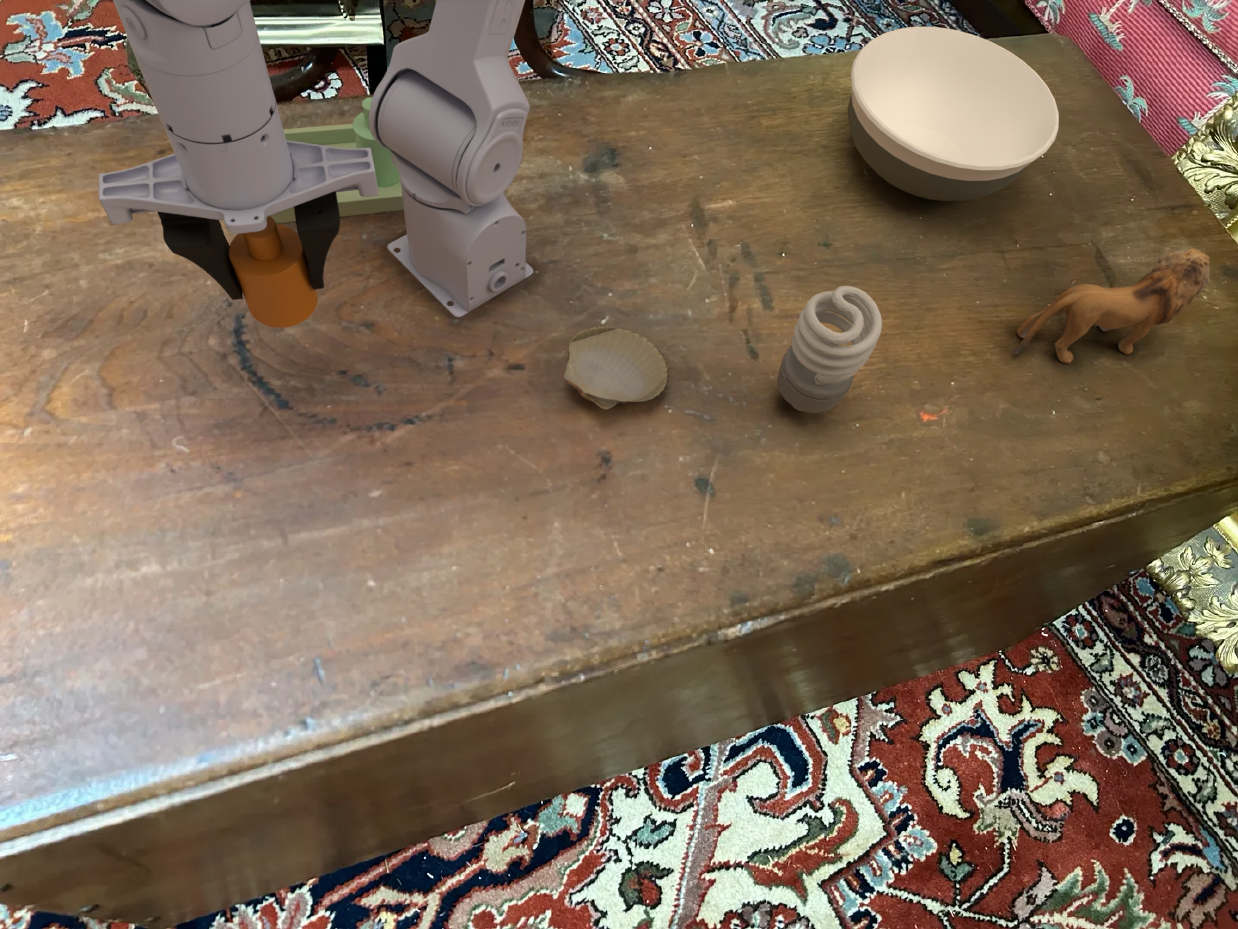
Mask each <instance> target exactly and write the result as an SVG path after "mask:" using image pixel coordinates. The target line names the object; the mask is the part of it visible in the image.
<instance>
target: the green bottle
mask: <svg viewBox="0 0 1238 929" xmlns="http://www.w3.org/2000/svg"><path fill="white" fill-rule="evenodd" d="M372 97H373V96H369V97H366V98H364V99H363V100H362V102H361V107H362V108H361V109H362V112H360V113H359V114H357V115H356V116H355V118H354V119H353V120H352V124H353V131H354V137H355V142H356V148H371V152H372V158H373V163H374V168H375V174H376V180H377V186H378V187H388V186H392V185H394V184H396V183H398V182H399V181H400V176H399V171H398V169H397V168H396V167H395V166H394V165H393V164H392V160H391V153H390V149H388V148H386V147H383V146H381V145H380V144H379V143H378V142H377V141H376V140H375V139H374V138H373V136H372V134H371V131H370V127H369V110H370V105H371V101H372Z"/></svg>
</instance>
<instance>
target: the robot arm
mask: <svg viewBox="0 0 1238 929" xmlns="http://www.w3.org/2000/svg"><path fill="white" fill-rule="evenodd" d="M112 1H113V4H114V7H115V9H116V11H117V13H118V17H119V19H120V22H121V24H122V27H123V28H124V32H125V35H126V37H127V40H128V42H129V45H130V48H131V50H132V52H133V55H134V58H135V60H136V62H137V65H138V67H139V69H140V70H139V71H140V72H141V74H142V77H143V80H144V82H145V85H146V87H147V90H148V92H149V94H150V97H151V100H152V102H153V105H154V106H155V110H156V112H157V114H158V118H159V120H160V121H161V124H162V127H163V129H164V131H165V135H166V136H167V139H168V141H169V144H170V147H171V149H172V151H173V153H172V154H169V155H166V156H163V157H160V158H157V159H154V160H151V161H147V162H145V163H141V164H138V165H136V166H132V167H130V168H125V169H120V170H116V171H110V172H109V171H108V172H103V173H102V172H101V173H99V174H98V200H99V202H100V205H101V206H102V208H103V210H104V212H105V214H106V216H107V217H108V219H109V222H110V223H111V225H120V224H128V223H131V222H132V221H133V220H134V216H133V215H136V214H143V213H145V214H146V213H153V212H157V215H158V217H159V220H160V222H161V223H160V224H161V226H162V237H163V241H164V243H165V245H166V246H167V248H168V249H169V250H170V252H171V253H172V254H174V255H177V256H179V257H182V258H184V259H186V260H188V261H189V262H191V263H193V264H194V265H196V266H197V267H199V268H200V269H201V270H203V271H204V272H206V273H207V274H208V275H209V276H210V277H211V278H212V279H213V280H214V281H215V282H216V283H217V284H218V285H219V286H220V287H221V288H222V289H223V290H224V292H225V293H226V294H227V295H228V296H229V298H230V299H231V300H232V301H236V300H243V299H244V295H243V292H242V290H241V287H240V285H239V282H238V280H237V277H236V274H235V272H234V269H233V267H232V264H231V261H230V258H229V247H230V244H229V242H228V239H227V237H226V234H225V233H224V230H223V227H222V223H221V221H223V223H224V225H225V227H226V229H227V232H228V233H230V234H233V235H237V234H240V233H249V232H258V231H261V230H264V229H265V228H266V226H267V217H268V216H270V215H273V214H275V213H278V212H281V211H283V210H286V209H289V208H291V207H294V212H295V219H296V221H295V226H296V233H297V234H298V236H299V238H300V241H301V243H302V246H303V248H304V251H305V254H306V258H307V261H308V266H309V273H310V280H311V285H312V287H313V290H315V289H316V290H321V289H324V288H325V282H324V272H325V265H326V260H327V257H328V253H329V251H330V248H331V246H332V244H333V242H334V241H335V238H336V237H337V236H338V234H339V232H340V228H341V217H340V213H339V207H338V201H337V195H336V192H343V191H353V190H359V194H360V196H362V197H371V196H378V195H379V192H378V186H377V180H376V174H375V168H374V163H373V158H372V152H371V148H339V147H331V146H324V145H317V144H310V143H303V142H296V141H289V140H286V137H285V133H284V130H283V129H284V126H283V122H282V118H281V115H280V110H279V107H278V103H277V100H276V96H275V93H274V89H273V86H272V83H271V78H270V75H269V71H268V67H267V63H266V58H265V55H264V52H263V48H262V44H261V40H260V37H259V33H258V29H257V25H256V20H255V17H254V13H253V9H252V6H251V0H112ZM525 2H526V0H436V1H435V6H434V10H433V14H432V18H431V21H430V24H429V29H428V31H427V32H425V33H423V34H420V35H416V36H414V37H411V38H408V39H405V40H403V41H401V42H399V43H397V44H395V46H394V47H393V50H392V53H391V58H390V62H389V65H388V67H387V70H386V72H385V74H384V76H383V78H382V79H381V81H380V82H379V84H378V85H377V86H376V88H375V91H374V92H373V94H372V96H371V97H372V101H371V105H370V110H369V127H370V131H371V134H372V136H373V138H374V139H375V140H376V141H377V142H378V143H379V144H380V145H381V146H383V147H386V148H388V149H390V153H391V160H392V164H393V165H394V166H395V167H396V168H397V169H398V171H399V176H400V184H401V192H402V199H403V207H404V210H403V213H404V221H405V228H406V234H405V235H403V236H401V237H399V238H396V239H395V240H393V241H391V242H389V243H388V244H387V246H386V248H387V250H388V251H389V252H390V253H391V254H392V255H393V256H394V257H395V258H396V259H397V260H398V262H400V263H401V264H402V265H403V267H405V268H406V270H408V271H409V272H410V274H412V276H414V277H415V278H416V279H417V281H419V283H421V284H422V285H423V286H424V287H425V289H427V291H429V292H430V294H431V295H433V296H434V298H435V299H436V300H438V302H440V304H441V305H442V306H444V307H445V308H446V310H448V311H449V312H450V314H452V315H453V317H456V318H461V317H463V316H466V314H468V313H469V312H472V311H473V310H475V309H476V308H478V307H479V306H482V305H484V304H485V303H487V302H488V301H490V300H492V299H493V298H495V297H497V296H498V295H500V294H501V293H503V292H505V291H506V290H508V289H510V288H511V287H513V286H515V285H516V284H518V283H520V282H522V281H523V280H525V279H526V278H528V277H530V276H531V275H532V274H534V268H533V267H532V266H531V265H530V264H528V263H527V237H528V236H527V235H528V234H527V231H528V230H527V224H526V222H525V220H524V218H523V217H522V216H521V215H520V214H519V213H518V211H517V210H516V209H515V208H514V206H512V204H511V202H510V201H509V199H508V198H507V196H506V194H505V191H506V190H507V189H508V188H509V187H510V186H511V184H512V182H513V181H514V180H515V178H516V176H517V174H518V171H519V170H520V169H519V168H520V166H521V163H522V160H523V152H524V148H523V147H524V131H525V127H526V122H527V118H528V115H529V112H530V109H531V107H530V103H529V101H528V98H527V97H526V95H525V92H524V91H523V89H522V87H521V85H520V83H519V81H518V79H517V76H516V75H515V72H514V70H513V68H512V66H511V64H510V62H509V58H508V57H509V54H510V51H511V47H512V44H513V40H514V38H515V35H516V31H517V28H518V24H519V22H520V18H521V15H522V12H523V9H524V5H525ZM396 249H398V250H399V252H396V251H395V250H396ZM450 302H452V303H453V305H448V303H450Z"/></svg>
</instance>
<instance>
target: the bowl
mask: <svg viewBox="0 0 1238 929" xmlns="http://www.w3.org/2000/svg"><path fill="white" fill-rule="evenodd" d="M850 81H851V92H850V95H849V100H848V104H847V110H846V111H847V120H848V125H849V130H850V135H851V138H852V140H853V144H854V145H855V148H856V149H857V151H858V153H859V154H860V156H861V157H862V159H863V160H864V161H865V162H866V164H868V165H869V167H870V168H871V169H872V170H873V171H874V172H875V173H876V174H877V175H878V176H879V177H880V178H881V179H883V180H884V181H886V182H887V183H888V184H890V185H891V186H893V187H895V188H897V189H899V190H901V191H903V192H905V193H907V194H910V195H912V196H914V197H918V198H923V199H926V200H932V201H942V202H955V201H956V202H958V201H965V202H966V201H970V200H976V199H981V198H983V197H986V196H988V195H991V194H993V193H995V192H997V191H999V190H1001V189H1003V188H1005V187H1008V186H1009V185H1010V184H1011V183H1013V182H1014V181H1016V180H1017V179H1018V178H1020V176H1021V175H1022V173H1023V172H1024V171H1025V170H1026V168H1027V167H1028V166H1029V165H1030V164H1031V163H1032V162H1034V161H1036V160H1037V159H1038V158H1040V157H1041V156H1042V155H1043V154H1046V153H1047V152H1048V150H1050V148H1051V146H1052V145H1053V144H1054V142H1056V141H1055V140H1056V138H1057V135H1058V132H1059V118H1060V117H1059V116H1060V115H1059V114H1060V112H1059V109H1058V105H1057V102H1056V99H1055V97H1054V95H1053V94H1052V91H1051V90H1050V88H1049V86H1048V85H1047V84H1046V82H1045V81H1044V80H1043V79H1042V77H1041V76H1040V75H1039V73H1037V72H1036V70H1034V69H1033V68H1032V67H1031V66H1030V65H1028V63H1026V62H1025V61H1024V60H1023V59H1021V58H1020V57H1018V56H1017V55H1016V54H1014V53H1012V52H1011V51H1009V50H1008V49H1006V48H1004V47H1002V46H1000V45H998V44H997V43H994V42H992V41H990V40H988V39H985V38H982V37H980V36H977V35H975V34H973V33H968V32H965V31H960V30H957V29H952V28H945V27H939V26H909V27H902V28H897V29H893V30H891V31H887V32H884V33H882V34H880V35H878V36H876V37H875V38H873V39H871V40H870V41H869V42H868V43H866V44H865V45H864V46H863V47H862V48H861V49H860V50H859V51H858V53H857V55H856V56H855V58H854V60H853V62H852V67H851V71H850Z"/></svg>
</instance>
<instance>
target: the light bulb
mask: <svg viewBox="0 0 1238 929" xmlns="http://www.w3.org/2000/svg"><path fill="white" fill-rule="evenodd" d="M823 323H825V324H829V325H832V326H834V327H836V328H837V329H839V330H841V331H842V332H838V331H834V330H832V329H830V328H829V327H826V325H824V324H823ZM882 330H883V319H882V315H881V312H880V309H879V307H878V305H877V303H876V302H875V300H874V299H873V298H872V297H871V296H870V295H869V294H868V293H867V292H865V291H864V290H862V289H860V288H859V287H855V286H852V285H842V286H841V285H840V286H838V287H837V288H835V289H834V290H828V291H827V290H826V291H821V292H819V293H816V294H814V295H813V296H811V297H810V298H809V300H807V302H806V304H805V305H804V308H803V309H802V310H801V311H800V313H799V315H798V320H797V321H796V323H795V325H794V328H793V335H792V337H791V345H790V346H789V347H788V348H787V350H786V352H785V353H784V354H783V357H782V360H781V364H780V365H779V366H780V367H779V369H778V373H777V378H776V380H777V388H778V390H779V392H780V394H781V396H782V398H783V399H784V400H785V401H786V402H787V403H788V404H790V405H791V406H792V407H793V408H794V409H796V410H797V411H801V412H805V413H811V414H818V413H824V412H829V411H830V410H832V409H833V408H835V407H836V406H837V405H838V404H839V403H840V402H841V400H842V399H843V398H844V396H845V395H846V394H847V392H848V391H849V390H850V388H851V386H852V384H853V382H854V378H855V374H856V373H857V372H859V370H860V369H861V368H862V367H863V366H864V365H865V364H866V363H867V362H868V361H869V359H870V357H871V355H872V353H873V352H874V350H875V349H876V346H877V343H878V340H879V338H880V336H881V333H882ZM849 343H851V345H845V344H849Z"/></svg>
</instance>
